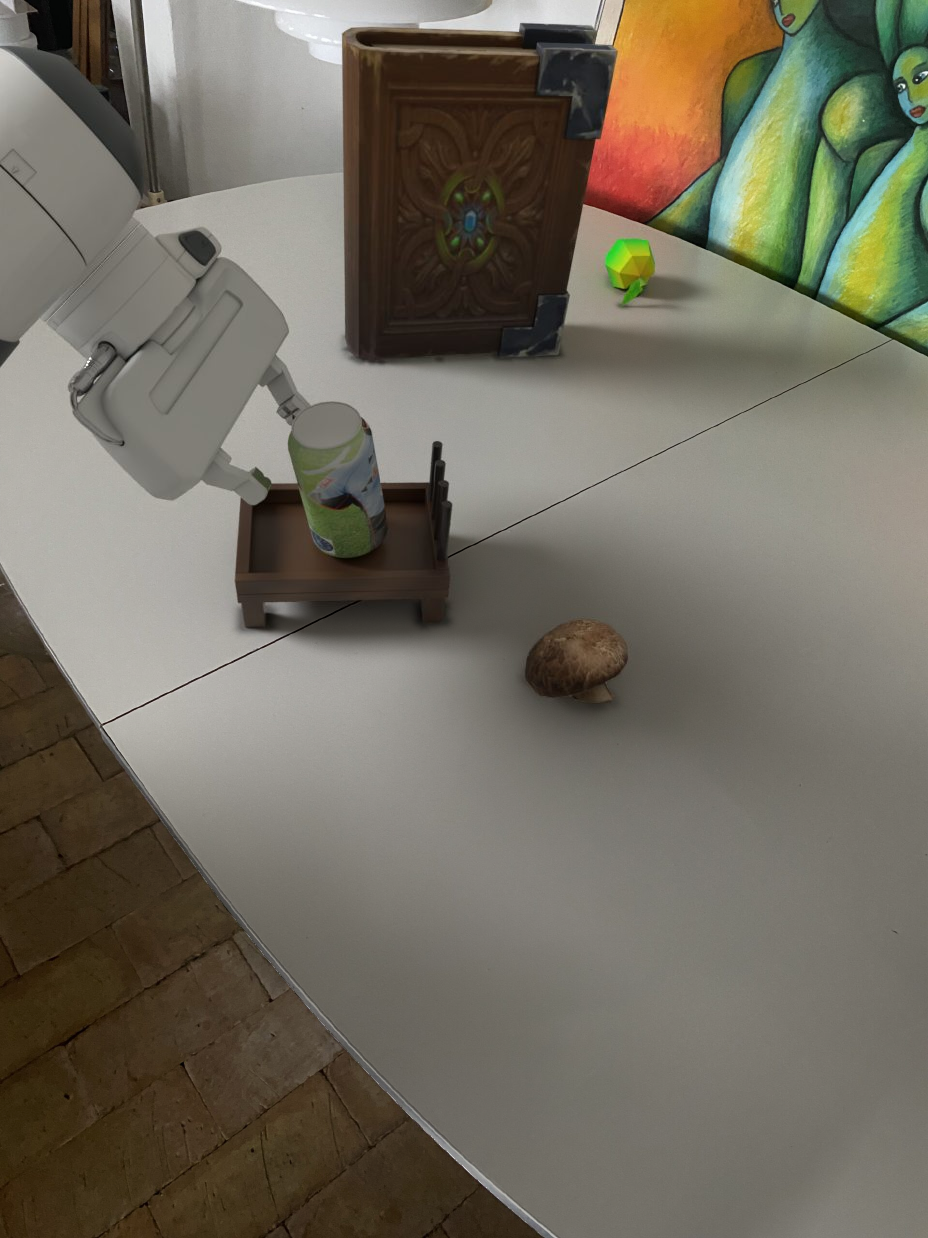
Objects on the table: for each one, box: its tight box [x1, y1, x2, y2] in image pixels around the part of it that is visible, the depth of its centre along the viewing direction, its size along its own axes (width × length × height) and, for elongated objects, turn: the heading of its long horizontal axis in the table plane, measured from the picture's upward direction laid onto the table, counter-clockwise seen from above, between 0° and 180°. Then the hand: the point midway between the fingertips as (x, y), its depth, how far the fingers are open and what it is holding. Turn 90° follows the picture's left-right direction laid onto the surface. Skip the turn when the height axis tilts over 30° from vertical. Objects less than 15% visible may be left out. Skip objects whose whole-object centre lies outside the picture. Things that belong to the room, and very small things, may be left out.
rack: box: [234, 440, 453, 628], centre depth 69 cm, size 16×11×11 cm
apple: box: [604, 238, 656, 307], centre depth 108 cm, size 7×6×9 cm
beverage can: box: [287, 400, 388, 558], centre depth 65 cm, size 6×7×12 cm
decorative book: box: [341, 22, 619, 360], centre depth 87 cm, size 23×7×30 cm, turn 104°
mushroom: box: [524, 618, 629, 704], centre depth 65 cm, size 8×8×6 cm
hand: (284, 454), depth 64 cm, fingers open, 8 cm apart
